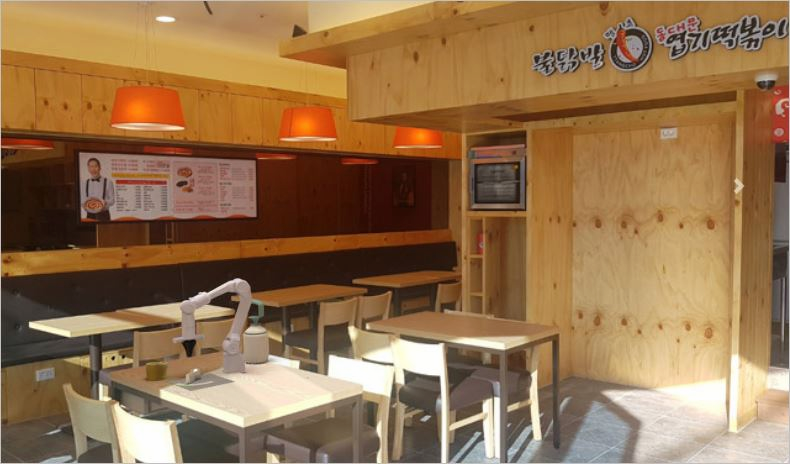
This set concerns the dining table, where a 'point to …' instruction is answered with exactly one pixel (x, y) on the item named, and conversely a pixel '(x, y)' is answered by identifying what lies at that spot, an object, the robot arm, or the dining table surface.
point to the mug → (156, 371)
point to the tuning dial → (193, 375)
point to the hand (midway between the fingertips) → (189, 356)
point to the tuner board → (202, 382)
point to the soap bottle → (256, 339)
